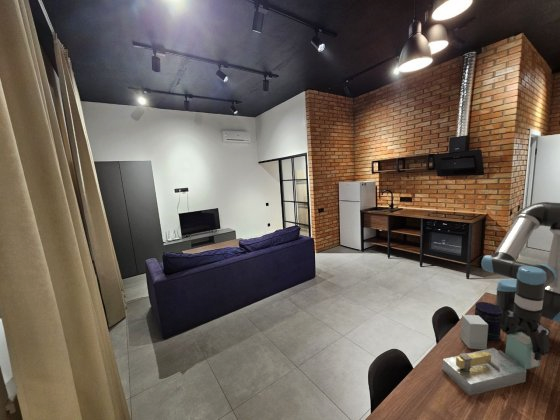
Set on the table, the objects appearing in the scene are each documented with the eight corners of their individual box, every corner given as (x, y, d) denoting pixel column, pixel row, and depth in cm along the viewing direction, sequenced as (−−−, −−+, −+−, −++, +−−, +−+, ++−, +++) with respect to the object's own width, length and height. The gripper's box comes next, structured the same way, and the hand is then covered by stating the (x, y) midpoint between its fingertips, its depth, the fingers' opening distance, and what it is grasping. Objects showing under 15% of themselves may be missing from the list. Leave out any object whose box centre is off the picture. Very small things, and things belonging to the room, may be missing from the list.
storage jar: (485, 343, 111) (487, 314, 109) (468, 329, 121) (469, 302, 118) (505, 341, 111) (508, 312, 109) (487, 327, 121) (489, 301, 119)
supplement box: (487, 350, 107) (489, 325, 105) (468, 348, 109) (470, 324, 107) (477, 338, 114) (478, 315, 112) (459, 337, 116) (461, 314, 114)
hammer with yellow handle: (454, 366, 94) (455, 354, 93) (484, 360, 96) (484, 348, 95) (461, 372, 91) (462, 360, 90) (492, 366, 93) (493, 354, 92)
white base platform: (492, 358, 103) (493, 345, 102) (525, 381, 91) (526, 368, 90) (442, 369, 99) (443, 356, 98) (469, 395, 87) (470, 381, 86)
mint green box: (518, 353, 100) (521, 331, 98) (539, 366, 93) (542, 343, 92) (505, 356, 99) (507, 334, 97) (524, 369, 92) (527, 346, 90)
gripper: (570, 319, 83) (562, 376, 87) (507, 292, 102) (503, 339, 106) (553, 323, 82) (545, 380, 86) (493, 294, 101) (489, 342, 105)
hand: (522, 357), depth 96 cm, fingers closed on mint green box, 7 cm apart
